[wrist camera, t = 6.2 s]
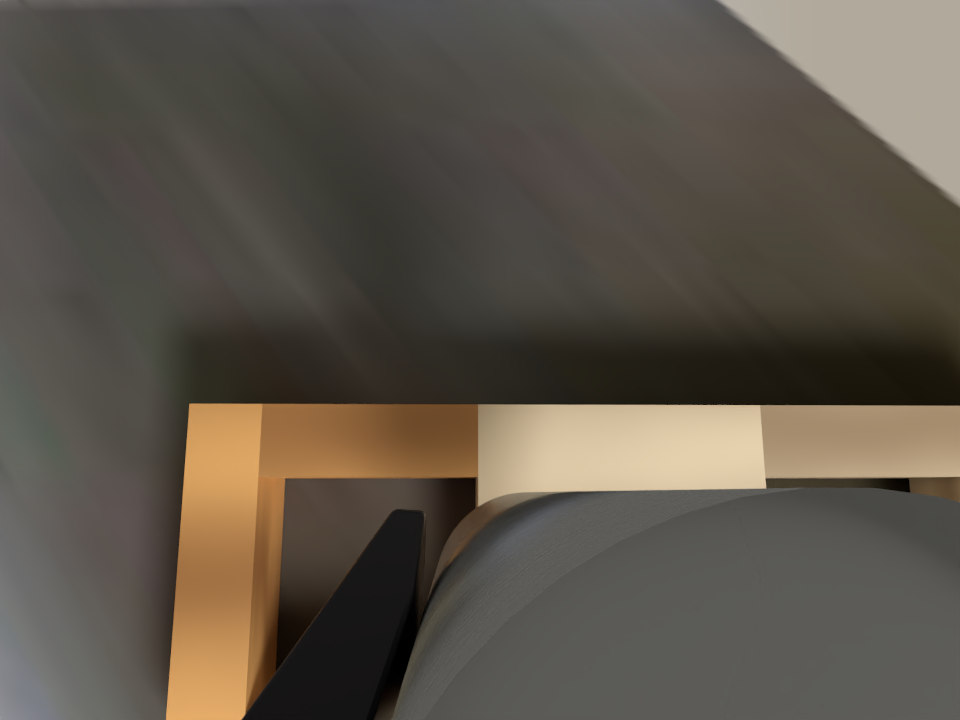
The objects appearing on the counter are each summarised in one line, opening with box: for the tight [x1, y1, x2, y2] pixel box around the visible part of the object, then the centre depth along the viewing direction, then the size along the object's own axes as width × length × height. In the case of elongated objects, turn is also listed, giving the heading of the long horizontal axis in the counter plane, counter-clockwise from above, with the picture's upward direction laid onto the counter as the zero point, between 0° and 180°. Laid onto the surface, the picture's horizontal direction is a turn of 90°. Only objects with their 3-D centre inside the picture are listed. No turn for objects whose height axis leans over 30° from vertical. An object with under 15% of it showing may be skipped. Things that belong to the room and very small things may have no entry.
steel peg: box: [392, 488, 960, 720], centre depth 9 cm, size 4×4×13 cm
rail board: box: [166, 404, 960, 720], centre depth 20 cm, size 10×25×3 cm, turn 90°
